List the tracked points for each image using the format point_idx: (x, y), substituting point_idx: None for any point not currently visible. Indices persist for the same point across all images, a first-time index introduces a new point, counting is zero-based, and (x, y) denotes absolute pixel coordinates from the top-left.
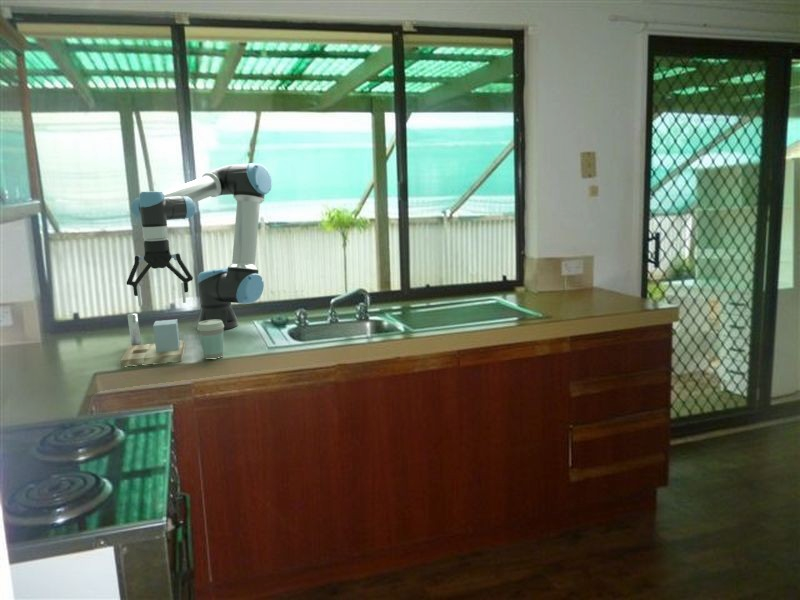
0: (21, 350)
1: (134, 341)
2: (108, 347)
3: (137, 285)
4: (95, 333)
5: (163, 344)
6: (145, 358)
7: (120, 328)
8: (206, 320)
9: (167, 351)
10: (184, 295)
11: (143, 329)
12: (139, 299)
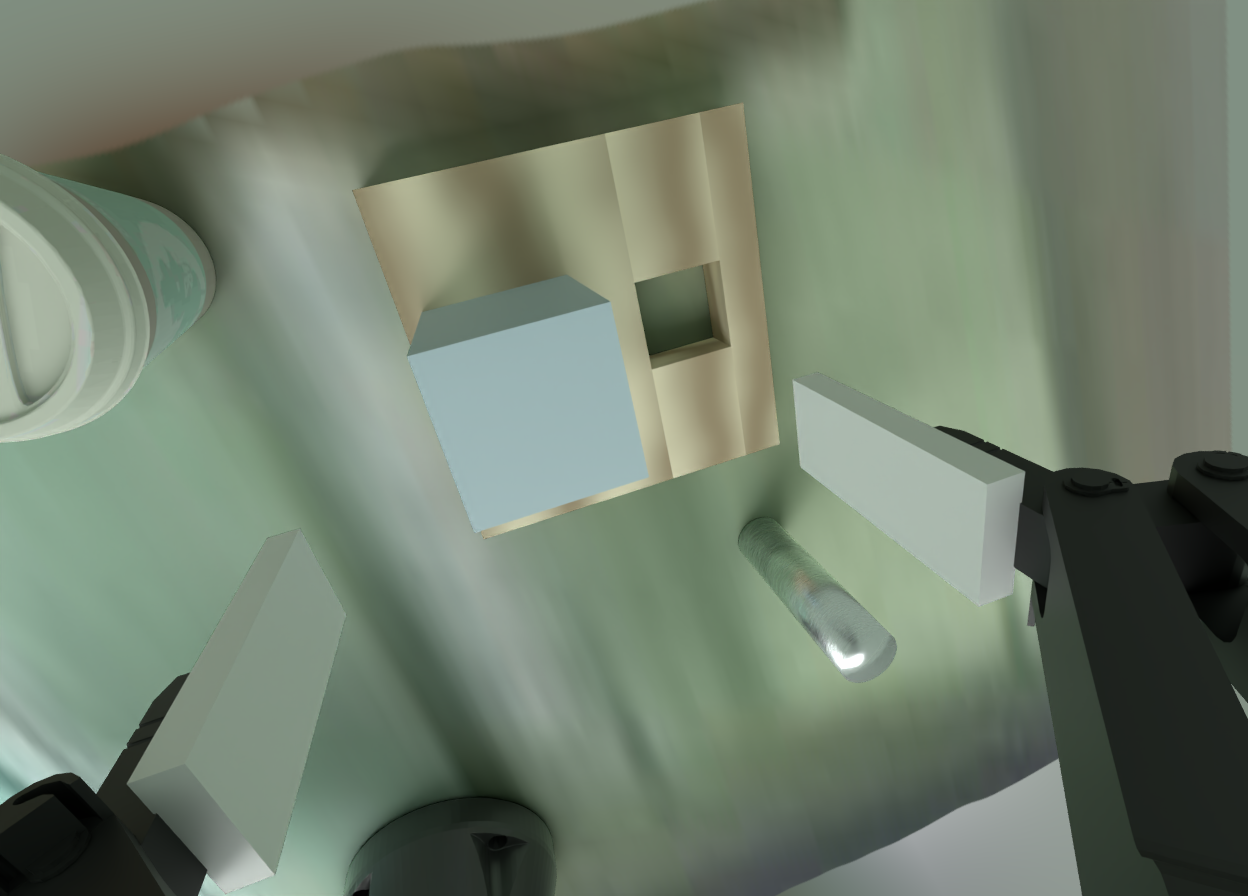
0: None
1: (776, 535)
2: None
3: (1020, 555)
4: (973, 724)
5: (521, 293)
6: (593, 137)
7: (896, 792)
8: (44, 403)
9: (493, 284)
10: (235, 602)
11: (803, 790)
12: (854, 400)
